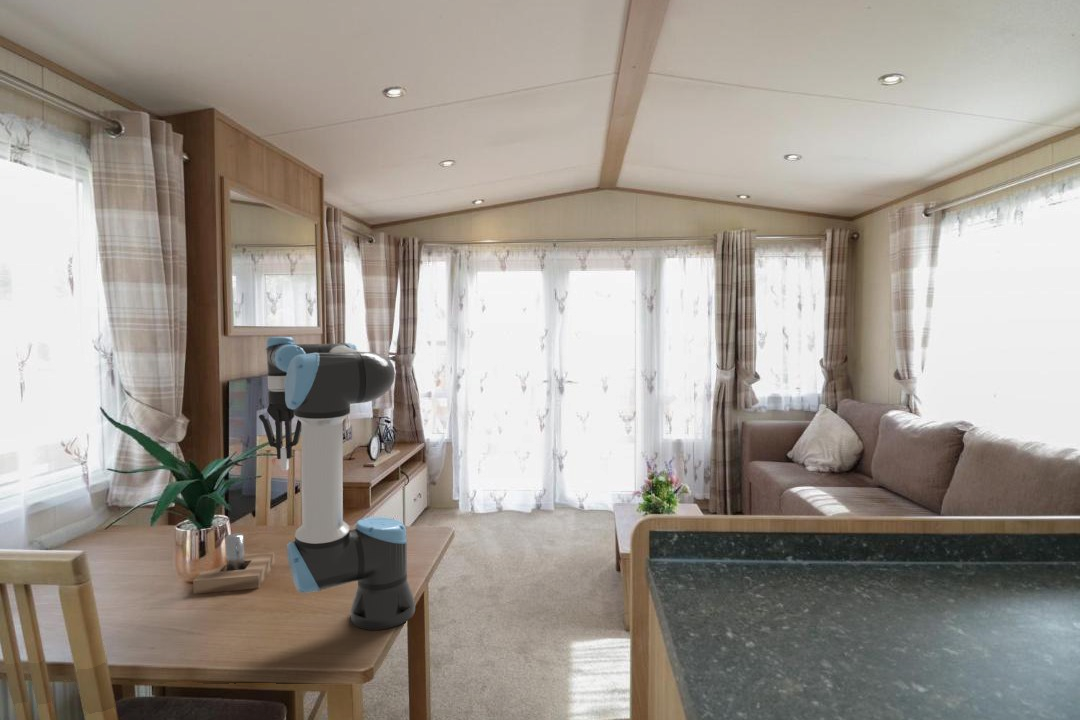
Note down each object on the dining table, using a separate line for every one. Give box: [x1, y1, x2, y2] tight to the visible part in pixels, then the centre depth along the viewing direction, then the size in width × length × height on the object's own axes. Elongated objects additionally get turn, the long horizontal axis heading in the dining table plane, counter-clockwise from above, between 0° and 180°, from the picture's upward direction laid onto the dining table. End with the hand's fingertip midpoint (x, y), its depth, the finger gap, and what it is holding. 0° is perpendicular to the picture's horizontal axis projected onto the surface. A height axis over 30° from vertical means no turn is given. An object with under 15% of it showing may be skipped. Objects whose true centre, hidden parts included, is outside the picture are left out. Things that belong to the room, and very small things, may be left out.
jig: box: [192, 551, 276, 595], centre depth 158 cm, size 16×16×4 cm
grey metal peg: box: [225, 532, 245, 571], centre depth 158 cm, size 4×4×12 cm
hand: (285, 469), depth 166 cm, fingers closed
